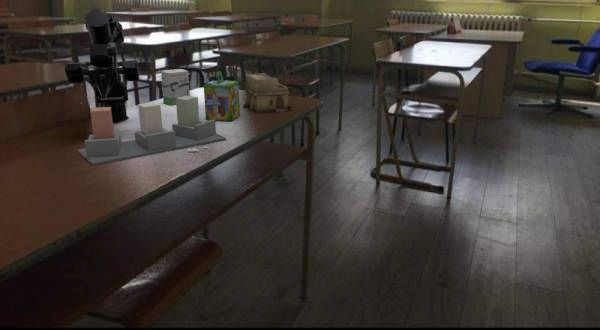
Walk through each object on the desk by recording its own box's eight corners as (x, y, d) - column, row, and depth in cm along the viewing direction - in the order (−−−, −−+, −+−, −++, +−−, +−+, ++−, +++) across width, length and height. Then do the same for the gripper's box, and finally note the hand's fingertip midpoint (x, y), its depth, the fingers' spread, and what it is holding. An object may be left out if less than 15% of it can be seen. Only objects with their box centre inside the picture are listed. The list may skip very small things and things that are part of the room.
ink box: (170, 105, 178) (167, 72, 174) (163, 103, 182) (160, 70, 178) (191, 102, 184) (188, 69, 180) (183, 100, 188) (181, 68, 184)
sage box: (178, 132, 143) (175, 98, 139) (189, 129, 146) (187, 95, 143) (189, 135, 141) (186, 100, 137) (199, 131, 144) (197, 97, 141)
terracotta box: (97, 145, 131) (92, 107, 128) (115, 143, 132) (110, 106, 129) (95, 149, 128) (90, 111, 124) (114, 148, 129) (109, 110, 125)
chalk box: (232, 122, 158) (230, 75, 153) (204, 120, 160) (202, 73, 155) (241, 115, 167) (239, 70, 162) (215, 113, 169) (212, 69, 164)
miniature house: (254, 115, 167) (253, 81, 163) (241, 106, 179) (240, 74, 175) (295, 111, 173) (295, 78, 169) (280, 103, 185) (280, 72, 181)
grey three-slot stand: (76, 150, 130) (74, 133, 128) (202, 128, 150) (201, 113, 149) (93, 165, 119) (90, 147, 118) (226, 140, 140) (225, 124, 138)
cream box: (141, 140, 135) (138, 104, 132) (157, 137, 138) (154, 102, 134) (147, 144, 132) (143, 107, 129) (163, 141, 135) (160, 105, 131)
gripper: (60, 32, 132) (59, 81, 126) (134, 31, 137) (137, 78, 131) (69, 58, 142) (68, 105, 136) (138, 57, 147) (140, 102, 140)
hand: (103, 97), depth 135 cm, fingers closed
